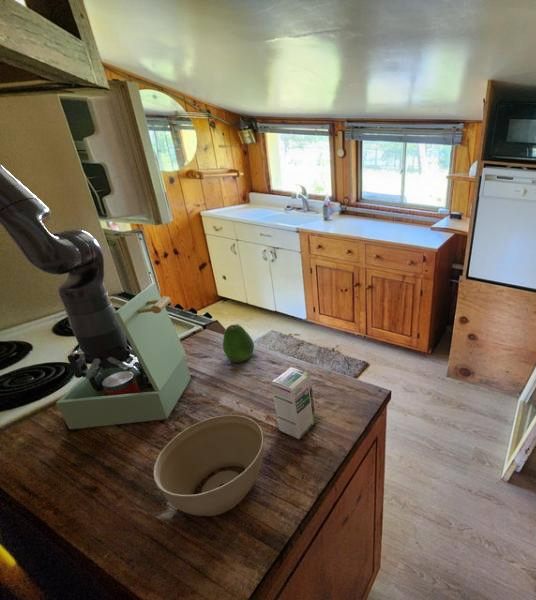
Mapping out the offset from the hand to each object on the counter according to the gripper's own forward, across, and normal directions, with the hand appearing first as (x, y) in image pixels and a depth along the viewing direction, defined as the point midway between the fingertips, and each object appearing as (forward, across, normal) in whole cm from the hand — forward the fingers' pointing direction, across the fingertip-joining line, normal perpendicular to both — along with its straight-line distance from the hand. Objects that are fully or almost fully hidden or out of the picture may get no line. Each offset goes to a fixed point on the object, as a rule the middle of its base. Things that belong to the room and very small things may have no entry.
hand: (122, 387), depth 75 cm
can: (+4, 0, 0) cm, 5 cm away
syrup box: (+6, -40, +14) cm, 43 cm away
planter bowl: (+6, -28, +27) cm, 39 cm away
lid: (-13, -10, 0) cm, 16 cm away
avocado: (+6, -22, -15) cm, 27 cm away
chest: (+5, -2, 0) cm, 6 cm away
